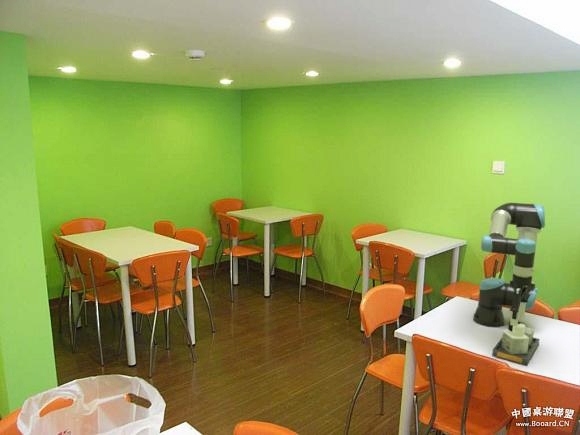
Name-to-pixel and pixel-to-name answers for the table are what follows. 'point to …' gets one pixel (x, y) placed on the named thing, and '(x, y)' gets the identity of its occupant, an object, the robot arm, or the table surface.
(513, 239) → the robot arm
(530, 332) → the filler block
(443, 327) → the table surface
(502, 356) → the rack tray
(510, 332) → the container
